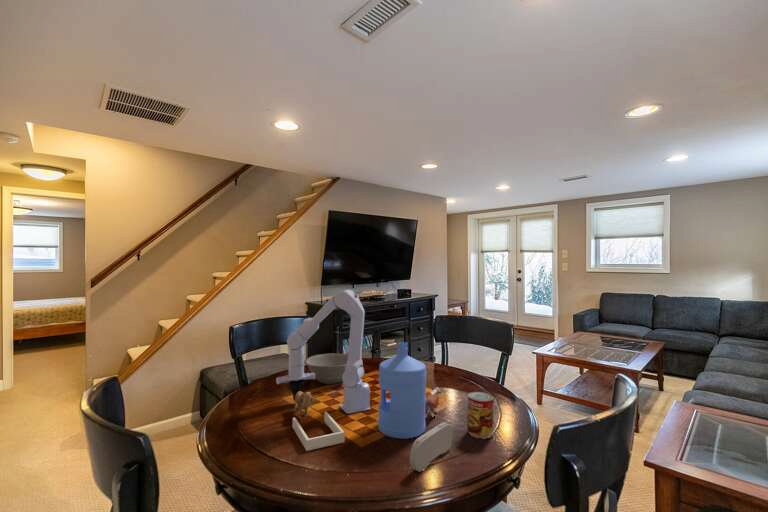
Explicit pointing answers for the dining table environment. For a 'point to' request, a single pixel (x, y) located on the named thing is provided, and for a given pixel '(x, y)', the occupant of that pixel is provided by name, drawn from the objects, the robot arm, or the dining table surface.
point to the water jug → (402, 395)
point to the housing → (321, 440)
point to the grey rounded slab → (430, 446)
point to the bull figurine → (432, 401)
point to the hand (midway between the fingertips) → (295, 399)
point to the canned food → (480, 413)
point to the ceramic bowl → (328, 367)
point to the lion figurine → (303, 402)
